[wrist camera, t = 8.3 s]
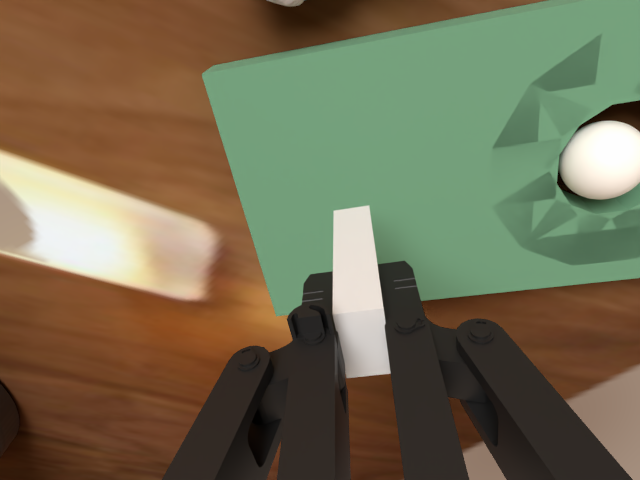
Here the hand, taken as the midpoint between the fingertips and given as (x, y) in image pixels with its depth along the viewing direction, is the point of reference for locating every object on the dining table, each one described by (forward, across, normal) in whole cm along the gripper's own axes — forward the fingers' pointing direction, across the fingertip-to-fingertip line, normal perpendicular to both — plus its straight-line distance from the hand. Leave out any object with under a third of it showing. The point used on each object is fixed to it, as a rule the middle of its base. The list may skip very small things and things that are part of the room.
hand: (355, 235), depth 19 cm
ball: (+4, +12, 0) cm, 12 cm away
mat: (+6, +6, 0) cm, 8 cm away
